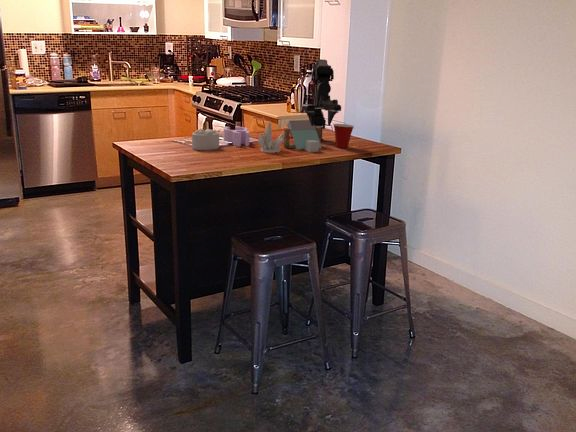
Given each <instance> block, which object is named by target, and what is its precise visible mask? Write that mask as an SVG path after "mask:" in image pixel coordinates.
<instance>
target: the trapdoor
mask: <svg viewBox="0 0 576 432" xmlns="http://www.w3.org/2000/svg"><path fill="white" fill-rule="evenodd" d="M286 126H287V129H291V131H290V134H291V135H292V139H293V142H294V143H293V144H295V146H296V148H295V149H296V150H305V140H316V141H318V142H319V149H322V143H321V144H320V141H319V138H318V134H317V131H316V128H315V127H314V124H313V126H311V123H310V120H309V119H305V120H303V119H301V120H299V119H297V120H289V121H288V122H287V124H286Z"/></svg>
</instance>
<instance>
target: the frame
mask: <svg viewBox="0 0 576 432" xmlns="http://www.w3.org/2000/svg"><path fill="white" fill-rule="evenodd" d="M321 129H322V128H320V127H316V131H317V134H318V138H319V141H320V144H321V145H322V142H321V141H322V140H321ZM322 130H323V129H322ZM290 131H291V129H288V128H284V129H283V136H284V139H283V148H284V149H296V146H295V143H290V137H291V136H290V135H291V133H290Z"/></svg>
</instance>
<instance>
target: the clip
mask: <svg viewBox="0 0 576 432" xmlns="http://www.w3.org/2000/svg"><path fill="white" fill-rule="evenodd" d="M234 127H235V128H234V129H231V127H230V126H226V125H225V126H224V127H223V128H222V130H223V133H222V134H223V136H222V137H223V138H222V139H223V140H224V141H228V142H232V143H233V144H232V145H233V146H235V147H239V148H240V147H241V146H242V145H244V146H245V147H250V136H251V135H250V134H251V133H250V130H248V128H247V127H243V126H239V125H237V126H234ZM223 140H222V141H223Z"/></svg>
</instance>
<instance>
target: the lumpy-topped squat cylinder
mask: <svg viewBox="0 0 576 432" xmlns="http://www.w3.org/2000/svg"><path fill="white" fill-rule="evenodd" d="M191 149H192V150H199V151H210V150H216V149H220V133H219V132H217V131H216V130H213V129H210V128H207V129H205V130H204V129H203V128H199V129H196V130H195V131H194V132H192V134H191Z"/></svg>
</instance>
